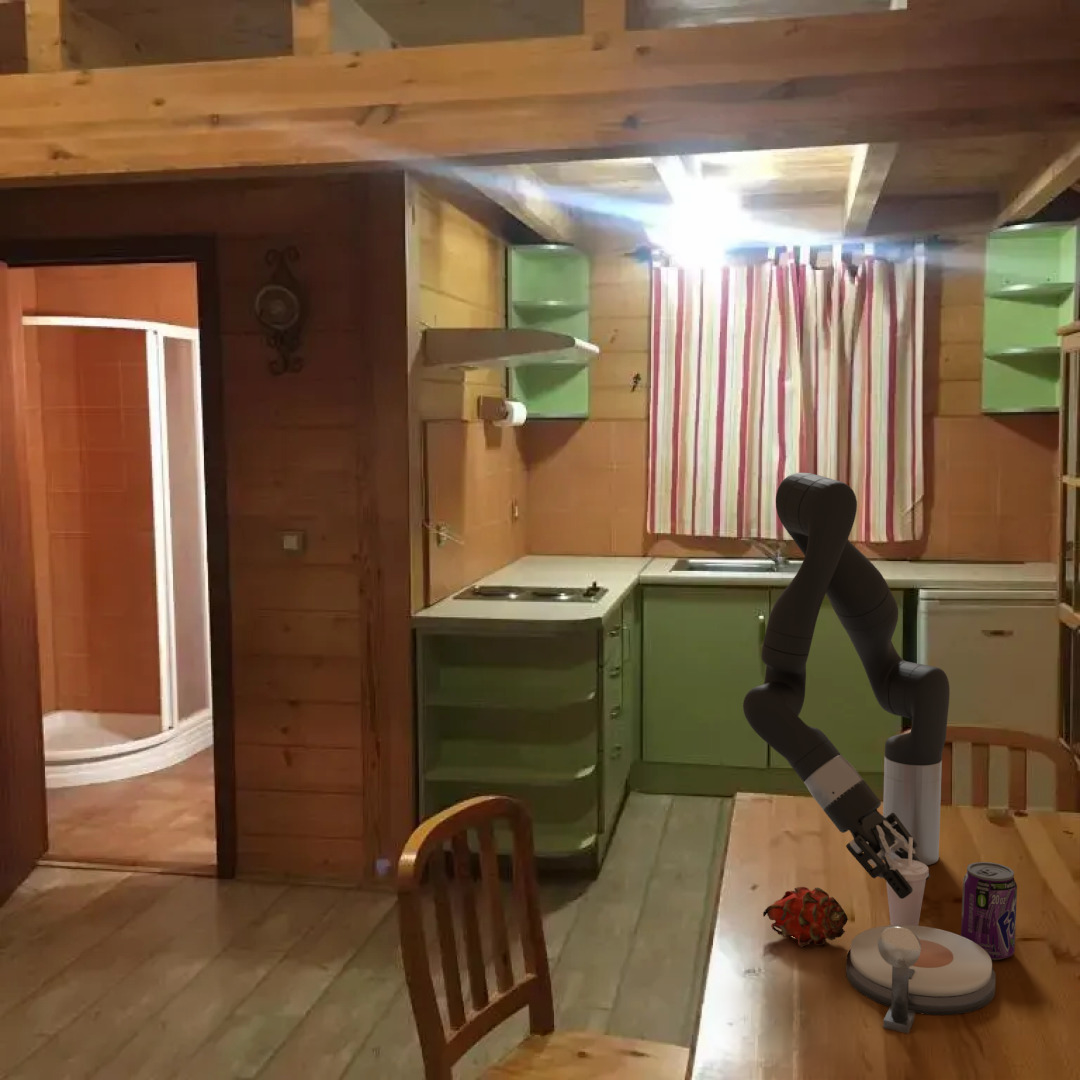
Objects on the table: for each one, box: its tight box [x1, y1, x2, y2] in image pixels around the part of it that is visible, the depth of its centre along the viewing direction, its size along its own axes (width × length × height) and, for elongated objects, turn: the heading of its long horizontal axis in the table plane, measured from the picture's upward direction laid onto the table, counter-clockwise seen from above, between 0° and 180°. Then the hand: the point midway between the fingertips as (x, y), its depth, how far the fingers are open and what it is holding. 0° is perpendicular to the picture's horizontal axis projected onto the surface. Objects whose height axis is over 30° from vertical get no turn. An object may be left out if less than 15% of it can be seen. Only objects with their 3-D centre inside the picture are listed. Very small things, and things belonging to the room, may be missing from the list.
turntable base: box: [845, 948, 996, 1016], centre depth 165 cm, size 19×19×2 cm
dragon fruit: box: [762, 886, 849, 947], centre depth 177 cm, size 8×8×12 cm
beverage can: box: [960, 861, 1018, 961], centre depth 172 cm, size 7×7×12 cm
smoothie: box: [885, 837, 930, 926], centre depth 180 cm, size 6×6×14 cm
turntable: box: [850, 924, 993, 997], centre depth 165 cm, size 18×18×2 cm
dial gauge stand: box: [878, 925, 921, 1034], centre depth 153 cm, size 5×5×13 cm
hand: (916, 887), depth 179 cm, fingers closed on smoothie, 6 cm apart
